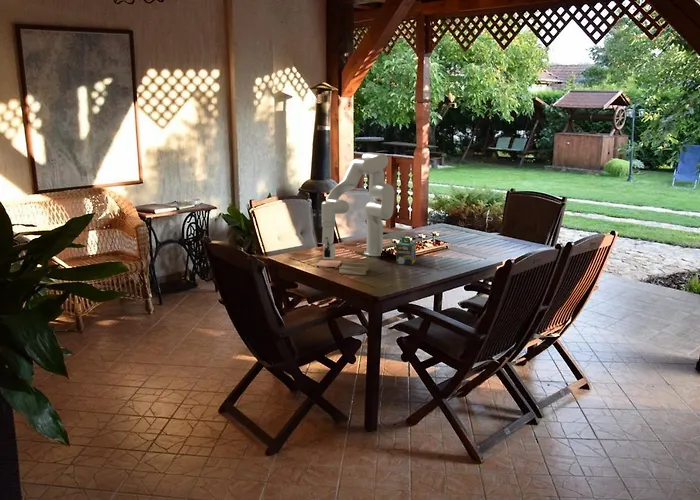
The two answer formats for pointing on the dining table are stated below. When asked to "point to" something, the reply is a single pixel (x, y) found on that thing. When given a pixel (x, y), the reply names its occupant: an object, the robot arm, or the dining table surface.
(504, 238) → the dining table surface
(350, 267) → the slot rack
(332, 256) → the cream block
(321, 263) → the terracotta tile
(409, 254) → the chalk box
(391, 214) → the robot arm
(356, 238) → the dining table surface
